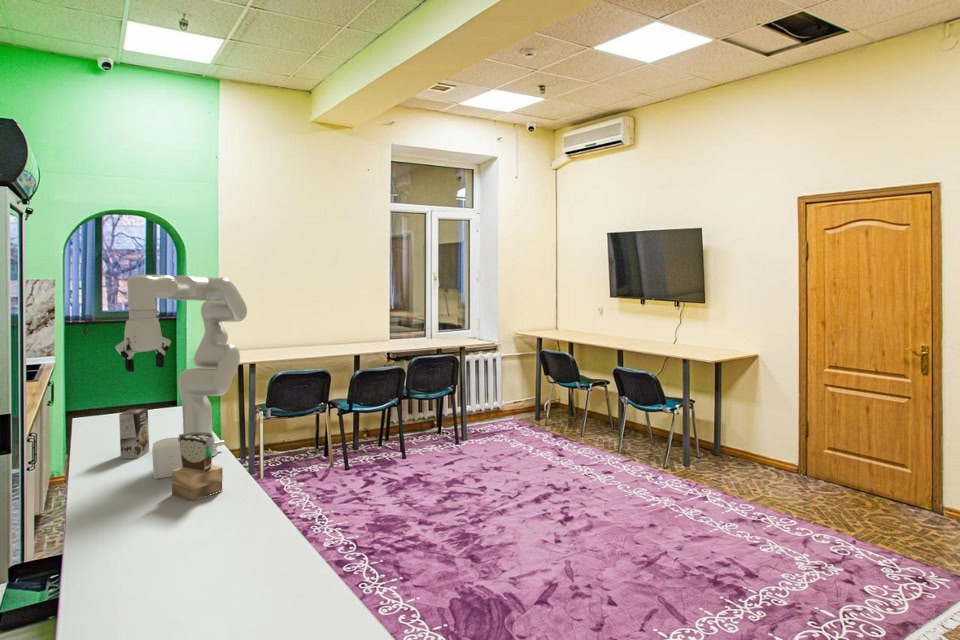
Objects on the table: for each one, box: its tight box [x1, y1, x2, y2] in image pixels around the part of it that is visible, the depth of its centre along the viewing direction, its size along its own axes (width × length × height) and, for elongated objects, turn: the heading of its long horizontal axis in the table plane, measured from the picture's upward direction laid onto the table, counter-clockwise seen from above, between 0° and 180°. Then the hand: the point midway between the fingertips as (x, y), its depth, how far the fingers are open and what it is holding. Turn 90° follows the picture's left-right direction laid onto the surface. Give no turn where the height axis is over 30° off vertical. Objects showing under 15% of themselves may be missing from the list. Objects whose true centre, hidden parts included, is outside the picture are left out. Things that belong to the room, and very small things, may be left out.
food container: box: [177, 432, 216, 472], centre depth 188 cm, size 12×6×10 cm, turn 65°
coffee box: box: [118, 408, 150, 459], centre depth 226 cm, size 9×6×16 cm
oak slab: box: [171, 463, 224, 490], centre depth 187 cm, size 10×10×4 cm
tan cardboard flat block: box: [171, 481, 223, 502], centre depth 187 cm, size 10×10×4 cm
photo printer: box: [151, 437, 182, 480], centre depth 203 cm, size 10×4×12 cm, turn 123°
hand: (145, 369), depth 197 cm, fingers open, 9 cm apart
